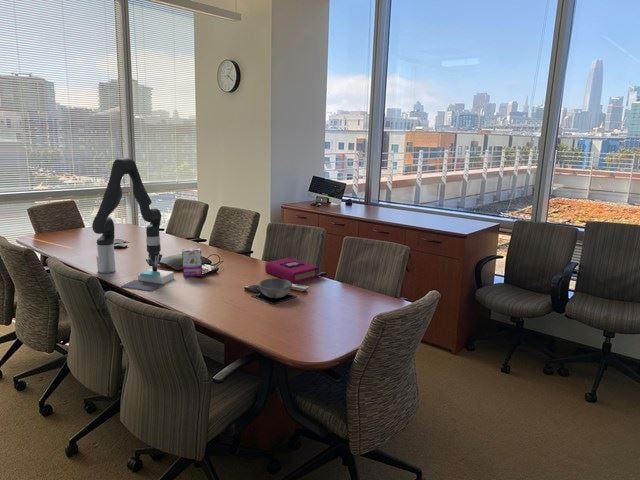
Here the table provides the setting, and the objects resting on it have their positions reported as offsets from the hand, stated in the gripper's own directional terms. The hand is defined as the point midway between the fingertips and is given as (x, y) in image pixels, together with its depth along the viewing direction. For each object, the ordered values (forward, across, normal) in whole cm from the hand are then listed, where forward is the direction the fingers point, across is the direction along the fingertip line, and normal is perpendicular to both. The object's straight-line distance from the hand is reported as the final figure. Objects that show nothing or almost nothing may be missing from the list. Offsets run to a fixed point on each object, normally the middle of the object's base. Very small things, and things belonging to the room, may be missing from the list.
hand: (155, 272), depth 278 cm
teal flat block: (+1, +4, 0) cm, 5 cm away
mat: (+5, +11, 0) cm, 12 cm away
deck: (+5, -1, 0) cm, 5 cm away
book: (+6, -40, +71) cm, 81 cm away
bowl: (+5, 0, +75) cm, 75 cm away
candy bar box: (+5, -16, +15) cm, 22 cm away
